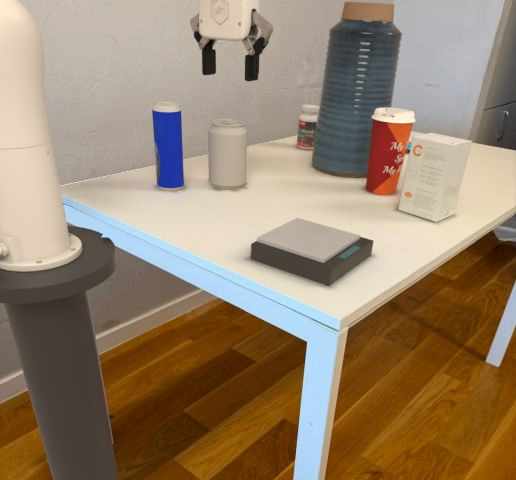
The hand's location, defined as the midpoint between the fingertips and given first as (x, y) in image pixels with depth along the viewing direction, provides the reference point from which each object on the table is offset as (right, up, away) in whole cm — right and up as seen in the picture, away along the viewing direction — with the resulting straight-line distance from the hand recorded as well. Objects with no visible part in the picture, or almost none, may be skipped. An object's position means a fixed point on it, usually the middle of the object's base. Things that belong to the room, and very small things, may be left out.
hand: (229, 77), depth 91 cm
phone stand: (+41, +3, +42) cm, 58 cm away
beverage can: (-12, -18, +8) cm, 23 cm away
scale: (+13, -35, -17) cm, 41 cm away
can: (-1, -16, +11) cm, 20 cm away
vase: (+25, -8, +25) cm, 37 cm away
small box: (+36, -24, +2) cm, 43 cm away
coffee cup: (+30, -17, +12) cm, 37 cm away
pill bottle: (+18, +3, +41) cm, 44 cm away
